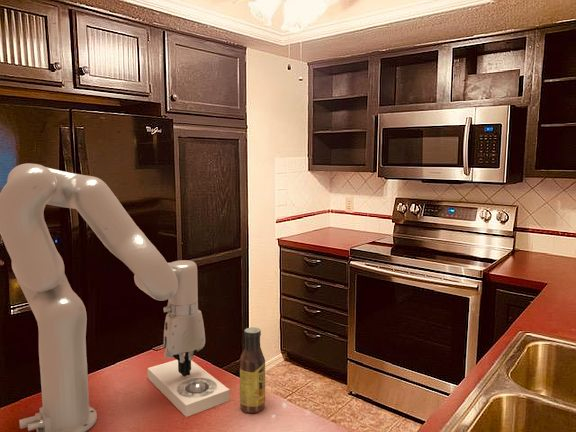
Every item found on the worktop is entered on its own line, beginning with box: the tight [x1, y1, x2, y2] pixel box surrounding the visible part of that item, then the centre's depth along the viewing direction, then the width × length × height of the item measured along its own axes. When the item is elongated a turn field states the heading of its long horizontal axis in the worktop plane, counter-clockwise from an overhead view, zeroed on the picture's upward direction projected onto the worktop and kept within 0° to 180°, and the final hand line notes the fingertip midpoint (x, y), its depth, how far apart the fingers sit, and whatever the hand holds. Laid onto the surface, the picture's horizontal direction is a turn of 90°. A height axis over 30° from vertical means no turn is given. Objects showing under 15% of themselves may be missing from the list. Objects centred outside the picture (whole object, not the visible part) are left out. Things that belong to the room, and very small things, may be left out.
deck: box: [146, 359, 231, 418], centre depth 121 cm, size 12×24×3 cm, turn 38°
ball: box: [188, 381, 206, 394], centre depth 116 cm, size 4×4×4 cm
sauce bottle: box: [239, 326, 266, 414], centre depth 112 cm, size 6×6×20 cm
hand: (184, 373), depth 122 cm, fingers closed
